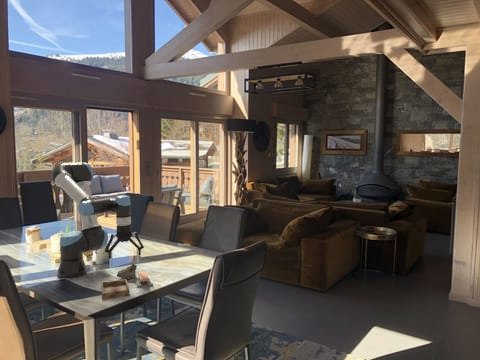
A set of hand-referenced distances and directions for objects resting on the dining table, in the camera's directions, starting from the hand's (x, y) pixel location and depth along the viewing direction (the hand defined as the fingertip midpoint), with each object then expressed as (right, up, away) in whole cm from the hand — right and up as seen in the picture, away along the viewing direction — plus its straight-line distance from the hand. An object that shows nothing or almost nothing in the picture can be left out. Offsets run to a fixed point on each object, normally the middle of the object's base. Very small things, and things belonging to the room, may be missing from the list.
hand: (125, 263), depth 204 cm
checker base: (+11, -10, -3) cm, 15 cm away
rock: (0, -9, +4) cm, 10 cm away
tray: (-1, -11, -15) cm, 18 cm away
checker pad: (+11, -7, -3) cm, 13 cm away
